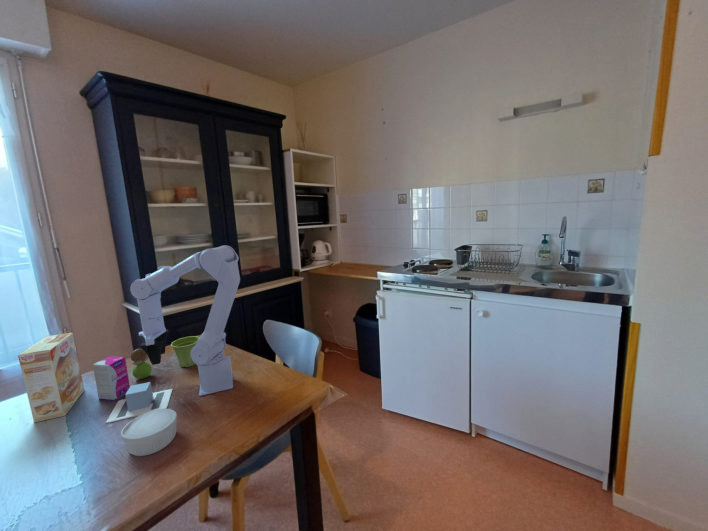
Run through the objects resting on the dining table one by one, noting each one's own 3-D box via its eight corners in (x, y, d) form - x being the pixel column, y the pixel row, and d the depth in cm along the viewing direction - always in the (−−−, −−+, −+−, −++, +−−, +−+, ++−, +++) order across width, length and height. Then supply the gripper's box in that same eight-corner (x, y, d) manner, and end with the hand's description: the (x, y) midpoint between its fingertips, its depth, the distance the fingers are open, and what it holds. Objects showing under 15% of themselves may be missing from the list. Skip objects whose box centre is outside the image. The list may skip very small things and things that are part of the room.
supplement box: (114, 401, 94) (107, 365, 92) (98, 400, 95) (90, 364, 93) (131, 390, 100) (125, 356, 98) (116, 389, 101) (109, 355, 99)
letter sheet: (172, 389, 99) (172, 388, 99) (166, 409, 89) (166, 408, 89) (118, 401, 94) (118, 400, 94) (106, 423, 84) (105, 422, 84)
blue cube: (153, 397, 95) (150, 381, 94) (149, 406, 90) (146, 390, 89) (133, 401, 93) (130, 386, 92) (128, 411, 88) (125, 394, 87)
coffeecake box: (65, 416, 88) (50, 349, 85) (32, 423, 86) (15, 355, 83) (86, 389, 102) (73, 331, 99) (57, 395, 99) (44, 336, 96)
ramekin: (127, 437, 78) (123, 418, 77) (179, 421, 83) (176, 402, 83) (121, 468, 68) (117, 446, 68) (180, 447, 74) (177, 426, 73)
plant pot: (208, 362, 117) (204, 339, 115) (180, 372, 110) (177, 348, 108) (196, 355, 123) (193, 334, 121) (170, 365, 116) (166, 342, 114)
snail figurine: (159, 374, 109) (153, 341, 107) (138, 383, 104) (132, 348, 102) (151, 371, 112) (145, 338, 110) (130, 379, 107) (124, 345, 105)
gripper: (142, 312, 103) (149, 352, 105) (129, 326, 89) (138, 371, 92) (167, 308, 105) (173, 347, 107) (158, 322, 92) (166, 366, 94)
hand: (158, 358), depth 100 cm, fingers open, 7 cm apart
